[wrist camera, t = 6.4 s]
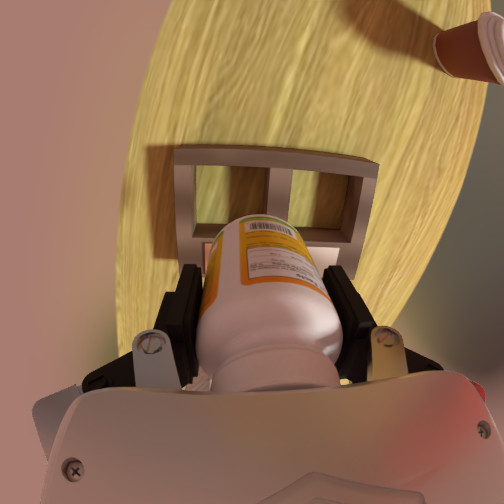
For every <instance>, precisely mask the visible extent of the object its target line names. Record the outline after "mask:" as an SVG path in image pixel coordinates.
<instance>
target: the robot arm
mask: <svg viewBox="0 0 504 504" xmlns="http://www.w3.org/2000/svg"><path fill="white" fill-rule="evenodd" d="M322 281H323V283H324V286H325V288H326V290H327V292H328V294H329V296H330V298H331V301H332V302H333V305H334V307H335V309H336V311H337V313H338V317H339V320H340V323H341V326H342V331H343V343H342V348H341V352H340V355H339V357H338V359H337V361H336V362H335V364H334V366H335V367H336V369H337V372H338V375H339V379H348V380H350V381H349V384H348V385H340V386H332V387H323V388H313V389H302V390H288V391H267V392H207V391H186V390H182V388H183V387H184V386H186V385H187V384H193V377H198V371H199V362H198V359H197V356H196V350H195V340H196V328H197V322H198V315H199V309H200V304H201V297H202V292H203V286H202V271H201V267H197V264H184V265H183V268H182V272H181V275H180V278H179V281H178V284H177V288H176V291H175V292H166V293H165V295H164V298H163V301H162V304H161V307H160V310H159V313H158V316H157V319H156V322H155V325H154V328H153V330H146V331H143V332H141V333H139V334H138V335H137V336H136V337H135V338H134V340H133V343H132V350H133V351H131V352H129V353H127V354H125V355H123V356H121V357H120V358H118V359H116V360H114V361H112V362H110V363H108V364H106V365H104V366H103V367H100V368H99V369H97V370H95V371H93V372H91V373H89V374H88V375H87V376H86V377H85V378H84V380H83V382H82V385H80V386H78V387H77V386H76V384H75V385H73V386H70V387H68V388H66V389H63V390H61V391H59V392H56V393H54V394H51V395H49V396H47V397H44V398H42V399H40V400H38V401H37V402H36V403H35V404H34V406H33V409H32V415H33V419H34V422H35V426H36V429H37V432H38V435H39V438H40V441H41V444H42V447H43V450H44V452H45V455H46V458H47V460H48V465H47V470H46V474H45V479H44V484H43V488H42V494H41V502H40V504H504V443H503V441H502V439H501V436H500V434H499V431H498V429H497V427H496V425H495V422H494V420H493V418H492V416H491V414H490V412H489V410H488V408H487V407H486V405H485V391H484V389H483V388H482V386H481V385H479V384H478V383H475V382H473V381H470V380H468V379H467V378H466V377H465V376H463V375H461V374H459V373H456V372H452V371H444V369H443V368H442V367H441V366H440V365H439V364H438V363H436V362H434V361H433V360H430V359H428V358H426V357H424V356H422V355H420V354H418V353H416V352H413V351H411V350H409V349H407V348H405V347H404V344H403V339H402V336H401V335H400V333H399V332H398V331H396V330H395V329H393V328H391V327H388V326H377V324H376V322H375V321H374V319H373V317H372V315H371V313H370V312H369V310H368V308H367V306H366V305H365V303H364V301H363V299H362V298H361V296H360V294H359V293H358V292H357V291H356V290H355V288H354V286H353V285H352V283H351V281H350V279H349V278H348V276H347V274H346V273H345V271H344V269H343V268H342V266H341V265H329V266H328V268H325V269H324V272H323V277H322Z"/></svg>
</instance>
